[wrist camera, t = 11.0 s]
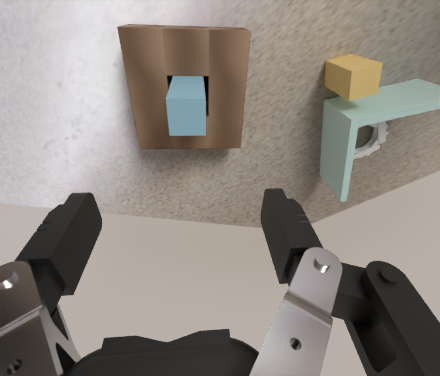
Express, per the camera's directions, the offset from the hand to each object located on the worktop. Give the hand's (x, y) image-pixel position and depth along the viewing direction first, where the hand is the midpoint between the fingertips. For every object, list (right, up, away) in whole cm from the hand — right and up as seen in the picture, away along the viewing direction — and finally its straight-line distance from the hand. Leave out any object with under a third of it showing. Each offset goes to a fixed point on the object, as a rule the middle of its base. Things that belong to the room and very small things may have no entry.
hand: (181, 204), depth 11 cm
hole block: (-2, +13, +17) cm, 22 cm away
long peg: (-2, +14, +17) cm, 22 cm away
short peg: (+16, +15, +18) cm, 28 cm away
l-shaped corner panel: (+22, +9, +24) cm, 34 cm away
